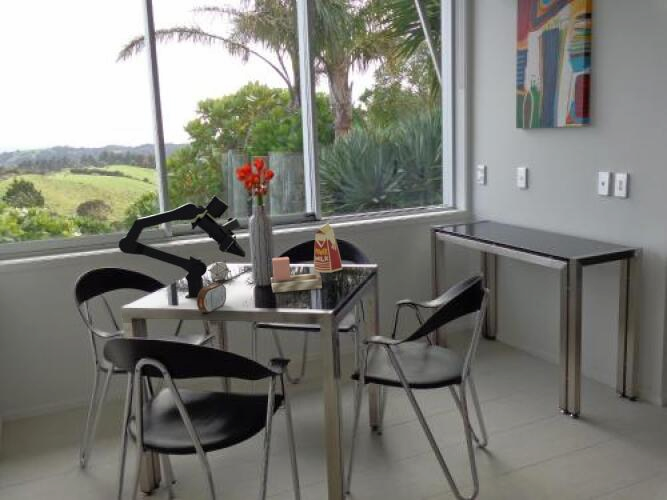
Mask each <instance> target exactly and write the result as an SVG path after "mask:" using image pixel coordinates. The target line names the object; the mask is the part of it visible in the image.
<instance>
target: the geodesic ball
mask: <svg viewBox="0 0 667 500" xmlns="http://www.w3.org/2000/svg"><path fill="white" fill-rule="evenodd" d="M212 261H213V263H212V265H211V266H210V269H207V271H209V273H210V274H211V276H212V278H213V280H212V282H214V281H216V280H224V281H227V279H226V278H227V276H228V274H229V273H231V272H232V270H230V269H229V268H228V265H227V263H226V262H227V259H226V260H224V261H218V262H216V261H215V260H212Z"/></svg>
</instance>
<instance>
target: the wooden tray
mask: <svg viewBox="0 0 667 500" xmlns="http://www.w3.org/2000/svg"><path fill="white" fill-rule="evenodd" d="M290 277H291V279H290V280H279V281H274V276H273V277H270V283H271V284H270V285H271V289H272V293H273V294H274V293H281V292H282V293H284V292H294V291H303V290H313V289H315V290H316V289H317V290H318V289H322V288H323V286H322V285H323V284H322V282H323V281H322V276H321V275H320V272H318V271H314V273H304V274H293V275H290Z"/></svg>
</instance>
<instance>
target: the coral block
mask: <svg viewBox="0 0 667 500" xmlns="http://www.w3.org/2000/svg"><path fill="white" fill-rule="evenodd" d="M271 260H272V261H271V262H272V270H273V277H274V281H279V280H290V279H291V277H290V276H291V266H290V258H289V257H288V256H283V257H282V256H281V257H272V258H271Z"/></svg>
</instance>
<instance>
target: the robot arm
mask: <svg viewBox="0 0 667 500" xmlns="http://www.w3.org/2000/svg"><path fill="white" fill-rule="evenodd" d="M229 208H230V205H229V204H228V203H227V202H226V201H224V200H223V199H221V198H220V197H218V196H217V195H213V197H211V200H210V201H209V202H208V203H207V204H206V205H197V203H195V202H187V203H185V204H183V205H180V206H179V207H176V208H174V209H172V210H166V211H163V212H159V213H156V214H152V215H148V216H145V217H144V216H143V217H138V218H136V219H135V220H134V221H133V224H132V226H131V227H130V229H129V231H128V232H127V234H126V235H125V236H123V237H121V239H119V242H118V248H119V250H120V251H121V252H122V253H123V254H129V255H139V256H145V257H148V258H152V259H154V260H158V261H161V262H162V263H163V262H164V263H167V264H170V265H173V266H176V267H179V268H181V269H183V270H184V271H186V274H185V280H186V284H187V292H188V293H187V294H186V295H184V298H186V299H187V298H188V299H189V298H197V297H198V294H199V292H200V290H201V289H202V288H204V287H205V286H204V278H203V276H204V275H205V274H207V271H208V262H207V260H205V258H203V257H202V256H199V255H196V254H194V253H191V254H190V255H189V256H186V255H185V256H184V255H180V254H178V253H175V252H171V251H168V250H165V249H163V248H159V247H157V246H153V245H150V244H148V243H146V242H145V241H143V240H142V239H140V236H141V234H142V232H143V230H144V229H146V228H150V227H154V226H158V225H162V224H166V223H171V222H173V221H190V220H191V223H190V224H191V230H195V228H198V229H199V230H201V231H202V232H204V234H206V235H207V236H208V238H209V239H212V240H213V241H215V243H216V244H217V245H218V250H219V251H221V252H222V253H228V254H231V255H236V256H237V257H242V258H245V257H246V252H245V250H244V249H243V248H242V246H241V245H240V244H239V243H238V241H237V236H236V235H235V234H236V233H235V231H233V230H235V229H239V228H240V227H241V223H240V222H239V220H238V218H237V217H232V216H230V217H228V218H227V222H225V223H224V224H222V223H221V222H217V221H216V219H221V217H222V216H223V215H224V214H225V213H226V212H227V211H228V210H229ZM201 215H202V216H201ZM213 218H214V219H213ZM192 220H194V221H192Z"/></svg>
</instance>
